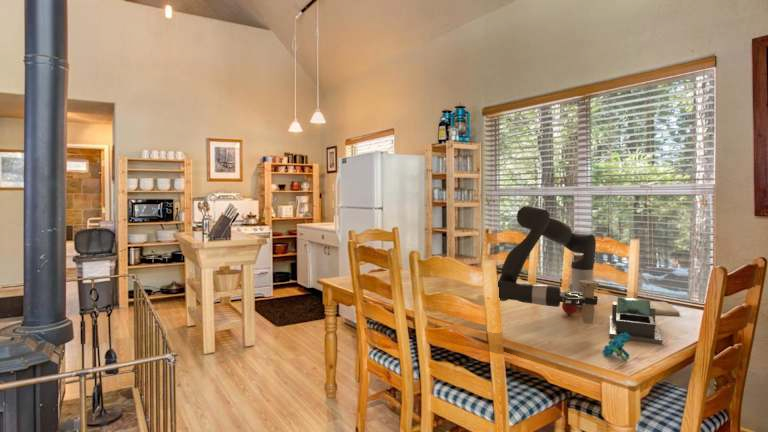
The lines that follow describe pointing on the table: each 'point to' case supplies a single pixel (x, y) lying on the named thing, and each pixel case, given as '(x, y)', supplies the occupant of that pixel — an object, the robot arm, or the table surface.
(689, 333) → the table surface
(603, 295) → the table surface
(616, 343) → the teal lobed piece
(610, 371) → the table surface
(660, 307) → the washcloth
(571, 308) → the onion
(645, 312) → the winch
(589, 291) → the handle
